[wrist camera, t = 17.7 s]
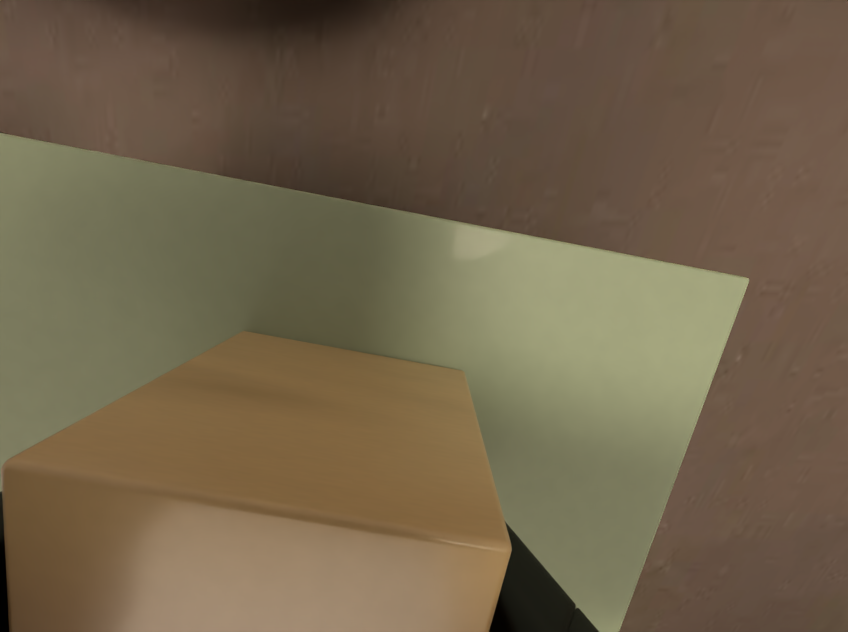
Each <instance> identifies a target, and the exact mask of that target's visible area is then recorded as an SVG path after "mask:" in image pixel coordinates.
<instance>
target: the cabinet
mask: <svg viewBox="0 0 848 632" xmlns="http://www.w3.org/2000/svg"><path fill="white" fill-rule="evenodd" d="M748 283H749V279H748V278H747V277H742V276H737V275H732V274H727V273H722V272H716V271H711V270H706V269H701V268H696V267H691V266H685V265H680V264H675V263H670V262H665V261H660V260H654V259H649V258H644V257H639V256H634V255H629V254H623V253H618V252H613V251H608V250H603V249H598V248H592V247H587V246H582V245H577V244H572V243H567V242H561V241H556V240H551V239H546V238H541V237H536V236H530V235H525V234H520V233H515V232H510V231H505V230H500V229H494V228H489V227H484V226H479V225H474V224H469V223H463V222H458V221H453V220H448V219H443V218H438V217H432V216H427V215H422V214H417V213H412V212H407V211H401V210H396V209H391V208H386V207H381V206H376V205H370V204H365V203H360V202H355V201H350V200H345V199H339V198H334V197H329V196H324V195H319V194H314V193H308V192H303V191H298V190H293V189H288V188H283V187H278V186H272V185H267V184H262V183H257V182H252V181H247V180H241V179H236V178H231V177H226V176H221V175H216V174H210V173H205V172H200V171H195V170H190V169H185V168H179V167H174V166H169V165H164V164H159V163H154V162H148V161H143V160H138V159H133V158H128V157H123V156H117V155H112V154H107V153H102V152H97V151H92V150H86V149H81V148H76V147H71V146H66V145H61V144H56V143H50V142H45V141H40V140H35V139H30V138H25V137H19V136H14V135H9V134H4V133H0V492H1V491H2V480H1V468H2V466H3V464H4V463H5V462H6V461H7V460H8V459H9V458H11V457H13V456H15V455H17V454H18V453H20V452H22V451H24V450H26V449H28V448H29V447H31V446H33V445H35V444H37V443H38V442H40V441H42V440H44V439H46V438H48V437H49V436H51V435H53V434H55V433H57V432H59V431H60V430H62V429H64V428H66V427H68V426H70V425H71V424H73V423H75V422H77V421H79V420H81V419H82V418H84V417H86V416H88V415H90V414H92V413H93V412H95V411H97V410H99V409H101V408H103V407H104V406H106V405H108V404H110V403H112V402H114V401H115V400H117V399H119V398H121V397H123V396H124V395H126V394H128V393H130V392H132V391H134V390H135V389H137V388H139V387H141V386H143V385H145V384H146V383H148V382H150V381H152V380H154V379H156V378H157V377H159V376H161V375H163V374H165V373H167V372H168V371H170V370H172V369H174V368H176V367H178V366H179V365H181V364H183V363H185V362H187V361H189V360H190V359H192V358H194V357H196V356H198V355H199V354H201V353H203V352H205V351H207V350H209V349H210V348H212V347H214V346H216V345H218V344H220V343H221V342H223V341H225V340H227V339H229V338H231V337H232V336H234V335H236V334H238V333H240V332H242V331H247V332H253V333H258V334H264V335H269V336H275V337H280V338H286V339H291V340H297V341H302V342H308V343H313V344H319V345H324V346H330V347H335V348H341V349H346V350H352V351H357V352H363V353H368V354H374V355H379V356H385V357H390V358H396V359H401V360H407V361H412V362H418V363H423V364H429V365H434V366H440V367H445V368H451V369H456V370H462V371H463V372H465V375H466V379H467V383H468V386H469V390H470V394H471V397H472V401H473V405H474V409H475V412H476V416H477V420H478V423H479V427H480V431H481V434H482V438H483V442H484V446H485V449H486V453H487V457H488V460H489V464H490V468H491V471H492V475H493V479H494V483H495V486H496V490H497V494H498V497H499V501H500V505H501V508H502V512H503V516H504V520H505V522H506V523H507V524H508V525H509V526H510V528H511V529H512V530H513V531H514V532H515V533H516V535H517V536H518V537H519V538H520V539H521V541H522V542H523V543H524V544H525V545H526V546H527V548H528V549H529V550H530V551H531V552H532V553H533V555H534V556H535V557H536V558H537V559H538V561H539V562H540V563H541V564H542V565H543V566H544V568H545V569H546V570H547V571H548V572H549V573H550V575H551V576H552V577H553V578H554V579H555V581H556V582H557V583H558V584H559V585H560V586H561V588H562V589H563V590H564V591H565V592H566V593H567V595H568V596H569V597H570V598H571V599H572V601H573V602H574V603H575V604H576V608H579V609H580V610H581V611H582V612H583V613H584V614H585V616H586V617H587V618H588V619H589V620H590V621H591V623H592V624H593V625H594V626H595V627H596V628H597V630H598V631H599V632H619V630H620V628H621V625H622V622H623V620H624V617H625V614H626V612H627V609H628V606H629V603H630V601H631V598H632V595H633V593H634V590H635V587H636V585H637V582H638V579H639V577H640V574H641V571H642V568H643V566H644V563H645V560H646V558H647V555H648V552H649V550H650V547H651V544H652V542H653V539H654V536H655V533H656V531H657V528H658V525H659V523H660V520H661V517H662V515H663V512H664V509H665V506H666V504H667V501H668V498H669V496H670V493H671V490H672V488H673V485H674V482H675V480H676V477H677V474H678V471H679V469H680V466H681V463H682V461H683V458H684V455H685V453H686V450H687V447H688V444H689V442H690V439H691V436H692V434H693V431H694V428H695V426H696V423H697V420H698V418H699V415H700V412H701V409H702V407H703V404H704V401H705V399H706V396H707V393H708V391H709V388H710V385H711V383H712V380H713V377H714V374H715V372H716V369H717V366H718V364H719V361H720V358H721V356H722V353H723V350H724V347H725V345H726V342H727V339H728V337H729V334H730V331H731V329H732V326H733V323H734V321H735V318H736V315H737V312H738V310H739V307H740V304H741V302H742V299H743V296H744V294H745V291H746V288H747V285H748ZM576 608H575V609H576Z"/></svg>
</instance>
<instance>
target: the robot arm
mask: <svg viewBox="0 0 848 632" xmlns="http://www.w3.org/2000/svg"><path fill="white" fill-rule="evenodd" d="M505 523H506V522H505ZM506 527H507V531H508V534H509V538H510V542H511V546H512V551H511V555H510V558H509V562H508V566H507V569H506V573H505V576H504V580H503V583H502V587H501V591H500V594H499V598H498V601H497V605H496V608H495V612H494V615H493V619H492V623H491V626H490V630H489V632H599V631H598V630H597V628H596V627H595V626H594V625H593V624H592V623H591V621H590V620H589V619H588V618H587V617H586V616H585V614H584V613H583V612H582V611H581V610H580V609H579V608H576V604H575V603H574V602H573V601H572V599H571V598H570V597H569V596H568V595H567V593H566V592H565V591H564V590H563V589H562V588H561V586H560V585H559V584H558V583H557V582H556V581H555V579H554V578H553V577H552V576H551V575H550V573H549V572H548V571H547V570H546V569H545V568H544V566H543V565H542V564H541V563H540V562H539V561H538V559H537V558H536V557H535V556H534V555H533V553H532V552H531V551H530V550H529V549H528V548H527V546H526V545H525V544H524V543H523V542H522V541H521V539H520V538H519V537H518V536H517V535H516V533H515V532H514V531H513V530H512V529H511V528H510V526H509V525H508V524H507V523H506ZM575 608H576V609H575ZM0 632H9V618H8V598H7V578H6V559H5V539H4V519H3V500H2V491H1V492H0Z"/></svg>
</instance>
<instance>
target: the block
mask: <svg viewBox="0 0 848 632" xmlns="http://www.w3.org/2000/svg"><path fill="white" fill-rule="evenodd" d="M1 480H2V500H3V519H4V539H5V559H6V578H7V598H8V618H9V632H489V630H490V626H491V623H492V619H493V615H494V612H495V608H496V605H497V601H498V598H499V594H500V591H501V587H502V583H503V580H504V576H505V573H506V569H507V566H508V562H509V558H510V555H511V551H512V546H511V542H510V538H509V534H508V531H507V527H506V523H505V520H504V516H503V512H502V508H501V505H500V501H499V497H498V494H497V490H496V486H495V483H494V479H493V475H492V471H491V468H490V464H489V460H488V457H487V453H486V449H485V446H484V442H483V438H482V434H481V431H480V427H479V423H478V420H477V416H476V412H475V409H474V405H473V401H472V397H471V394H470V390H469V386H468V383H467V379H466V375H465V372H463V371H462V370H456V369H451V368H445V367H440V366H434V365H429V364H423V363H418V362H412V361H407V360H401V359H396V358H390V357H385V356H379V355H374V354H368V353H363V352H357V351H352V350H346V349H341V348H335V347H330V346H324V345H319V344H313V343H308V342H302V341H297V340H291V339H286V338H280V337H275V336H269V335H264V334H258V333H253V332H247V331H242V332H240V333H238V334H236V335H234V336H232V337H231V338H229V339H227V340H225V341H223V342H221V343H220V344H218V345H216V346H214V347H212V348H210V349H209V350H207V351H205V352H203V353H201V354H199V355H198V356H196V357H194V358H192V359H190V360H189V361H187V362H185V363H183V364H181V365H179V366H178V367H176V368H174V369H172V370H170V371H168V372H167V373H165V374H163V375H161V376H159V377H157V378H156V379H154V380H152V381H150V382H148V383H146V384H145V385H143V386H141V387H139V388H137V389H135V390H134V391H132V392H130V393H128V394H126V395H124V396H123V397H121V398H119V399H117V400H115V401H114V402H112V403H110V404H108V405H106V406H104V407H103V408H101V409H99V410H97V411H95V412H93V413H92V414H90V415H88V416H86V417H84V418H82V419H81V420H79V421H77V422H75V423H73V424H71V425H70V426H68V427H66V428H64V429H62V430H60V431H59V432H57V433H55V434H53V435H51V436H49V437H48V438H46V439H44V440H42V441H40V442H38V443H37V444H35V445H33V446H31V447H29V448H28V449H26V450H24V451H22V452H20V453H18V454H17V455H15V456H13V457H11V458H9V459H8V460H7V461H6V462H5V463H4V464H3V466H2V468H1Z"/></svg>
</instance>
